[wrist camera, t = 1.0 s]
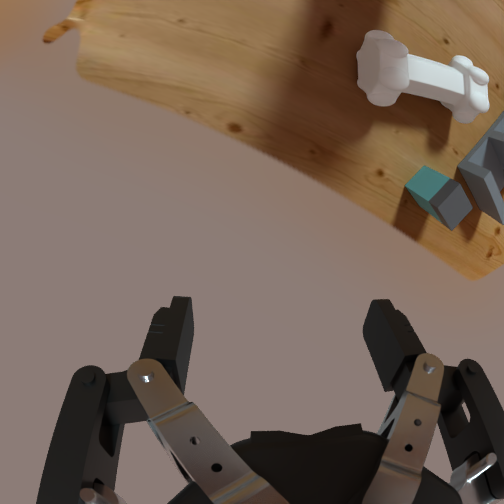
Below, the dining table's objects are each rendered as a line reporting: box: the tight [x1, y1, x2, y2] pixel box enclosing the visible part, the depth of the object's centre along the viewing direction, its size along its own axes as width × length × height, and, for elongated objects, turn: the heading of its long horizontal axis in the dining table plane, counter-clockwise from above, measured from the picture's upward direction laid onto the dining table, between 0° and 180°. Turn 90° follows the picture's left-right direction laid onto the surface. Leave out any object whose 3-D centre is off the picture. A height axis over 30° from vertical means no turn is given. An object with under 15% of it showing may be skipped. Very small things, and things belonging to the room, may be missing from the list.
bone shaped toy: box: [356, 30, 489, 123], centre depth 25 cm, size 15×9×8 cm, turn 91°
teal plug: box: [405, 166, 473, 231], centre depth 31 cm, size 4×4×8 cm
